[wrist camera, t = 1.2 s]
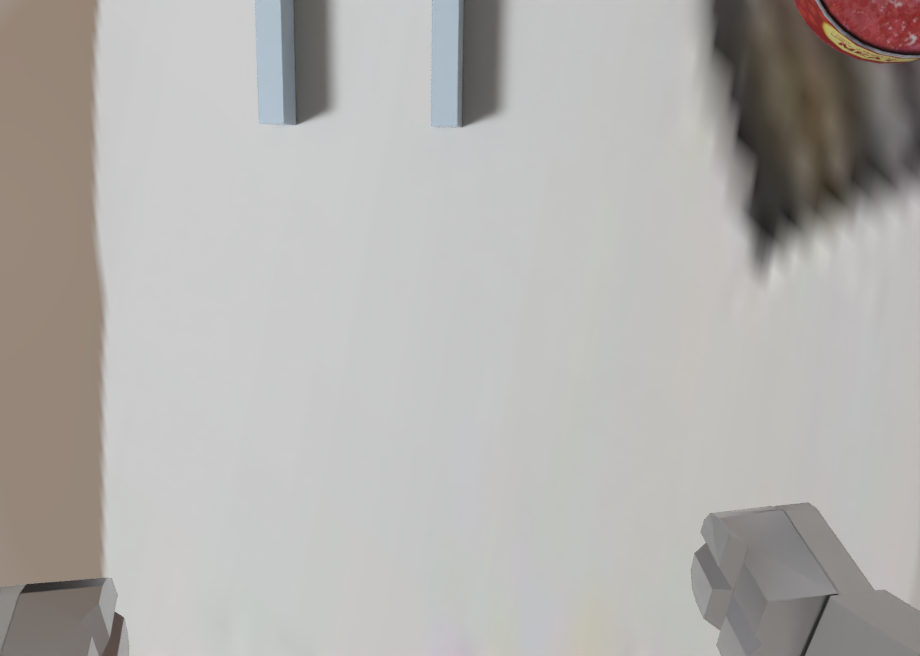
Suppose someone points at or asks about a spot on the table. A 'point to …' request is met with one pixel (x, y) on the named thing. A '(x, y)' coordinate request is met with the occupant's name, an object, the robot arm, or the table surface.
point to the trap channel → (280, 62)
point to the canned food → (867, 27)
